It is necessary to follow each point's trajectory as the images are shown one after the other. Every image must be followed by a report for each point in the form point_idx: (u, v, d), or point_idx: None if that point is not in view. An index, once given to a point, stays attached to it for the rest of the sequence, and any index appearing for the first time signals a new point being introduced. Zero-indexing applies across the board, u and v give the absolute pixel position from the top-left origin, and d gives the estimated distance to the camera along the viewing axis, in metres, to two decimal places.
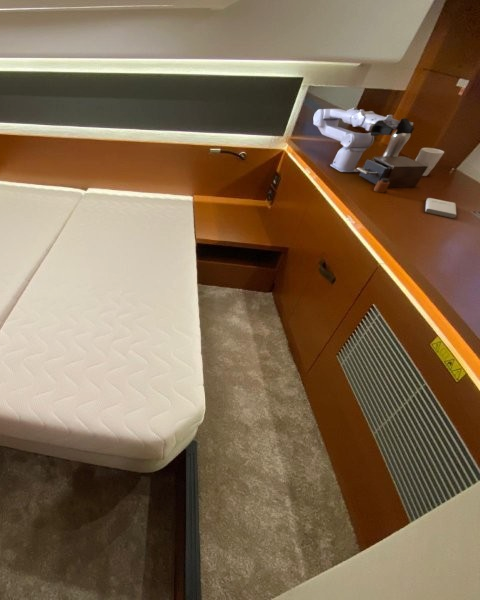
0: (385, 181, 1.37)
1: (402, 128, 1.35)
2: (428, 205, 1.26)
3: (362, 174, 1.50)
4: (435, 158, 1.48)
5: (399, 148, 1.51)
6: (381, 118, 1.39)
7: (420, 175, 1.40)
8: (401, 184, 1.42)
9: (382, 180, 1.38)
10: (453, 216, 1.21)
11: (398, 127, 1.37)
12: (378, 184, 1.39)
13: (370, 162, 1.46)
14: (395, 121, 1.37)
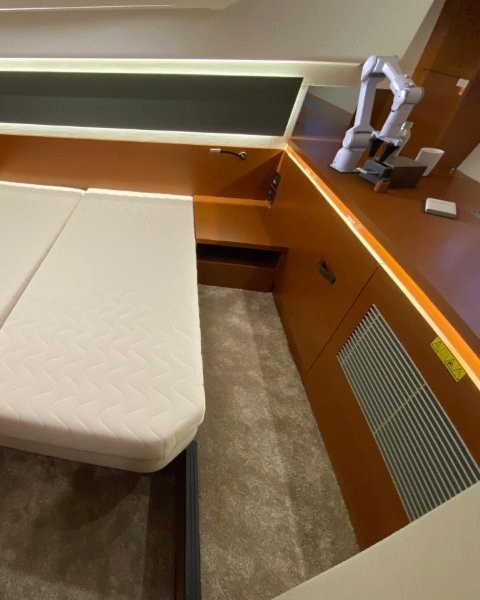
0: (385, 181, 1.37)
1: None
2: (428, 205, 1.26)
3: (362, 174, 1.50)
4: (435, 158, 1.48)
5: (399, 148, 1.51)
6: (381, 130, 1.36)
7: (420, 175, 1.40)
8: (401, 184, 1.42)
9: (382, 180, 1.38)
10: (453, 216, 1.21)
11: None
12: (378, 184, 1.39)
13: (370, 162, 1.46)
14: (387, 139, 1.34)
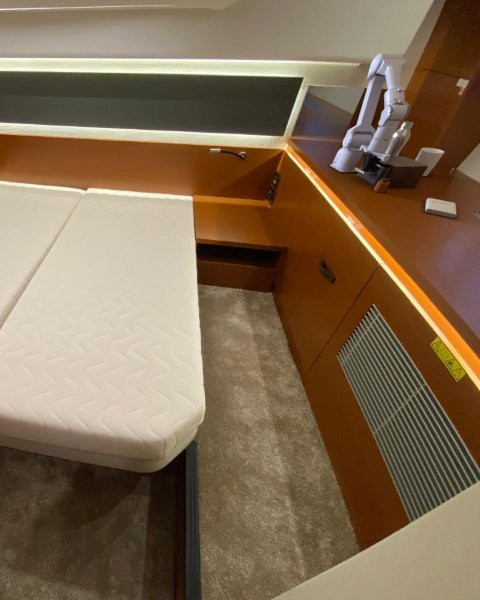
0: (385, 181, 1.37)
1: None
2: (428, 205, 1.26)
3: (360, 174, 1.50)
4: (435, 158, 1.48)
5: (399, 148, 1.51)
6: (369, 144, 1.39)
7: (420, 175, 1.40)
8: (401, 184, 1.42)
9: (382, 180, 1.38)
10: (453, 216, 1.21)
11: None
12: (378, 184, 1.39)
13: None
14: None
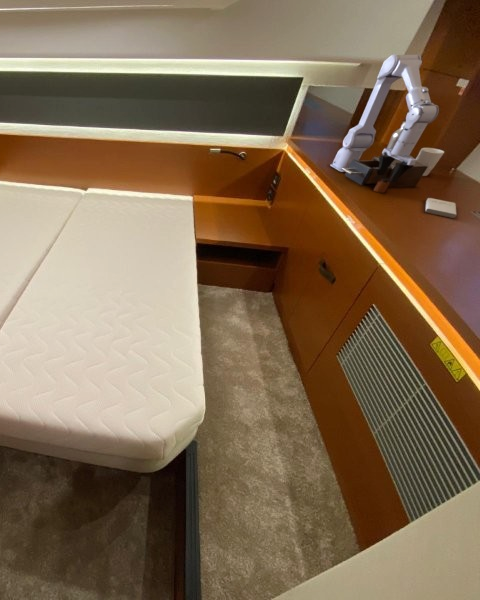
0: (385, 181, 1.37)
1: None
2: (428, 205, 1.26)
3: (347, 174, 1.50)
4: (435, 158, 1.48)
5: None
6: (393, 148, 1.31)
7: (420, 175, 1.40)
8: (401, 184, 1.42)
9: (382, 180, 1.38)
10: (453, 216, 1.21)
11: None
12: (378, 184, 1.39)
13: (355, 162, 1.46)
14: None
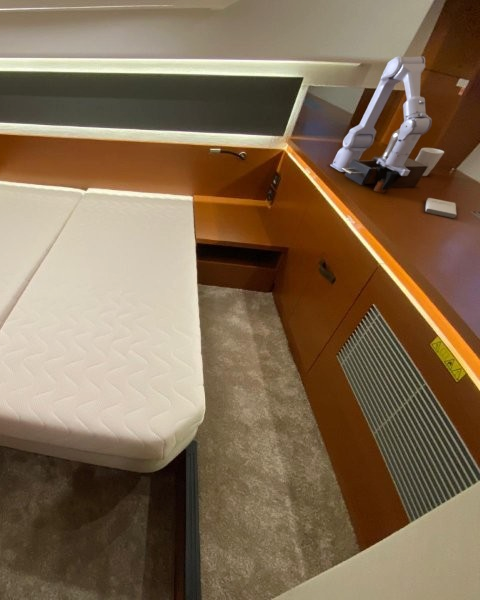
0: None
1: None
2: (428, 205, 1.26)
3: (347, 174, 1.50)
4: (435, 158, 1.48)
5: None
6: (387, 158, 1.34)
7: (420, 175, 1.40)
8: (401, 184, 1.42)
9: (382, 180, 1.38)
10: (453, 216, 1.21)
11: None
12: (378, 184, 1.39)
13: (355, 162, 1.46)
14: None
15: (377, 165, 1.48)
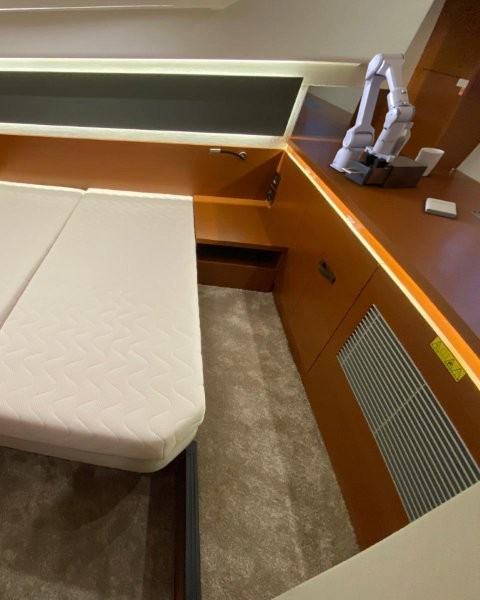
0: (372, 168, 1.43)
1: None
2: (428, 205, 1.26)
3: (347, 174, 1.50)
4: (435, 158, 1.48)
5: (399, 148, 1.51)
6: (374, 146, 1.40)
7: (420, 175, 1.40)
8: (401, 184, 1.42)
9: (370, 167, 1.44)
10: (453, 216, 1.21)
11: None
12: None
13: (355, 162, 1.46)
14: None
15: None
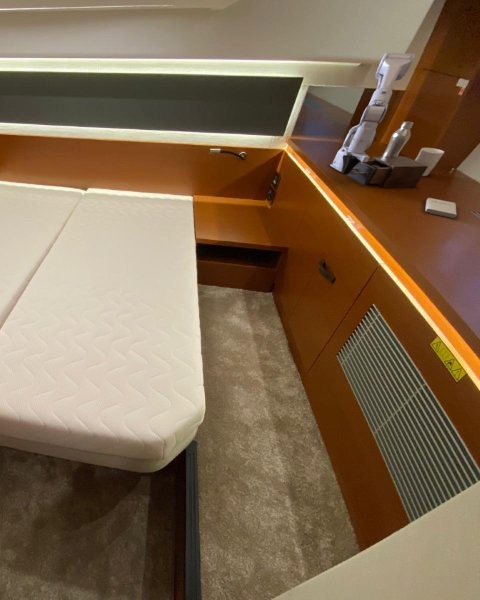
0: None
1: None
2: (428, 205, 1.26)
3: (350, 174, 1.50)
4: (435, 158, 1.48)
5: (399, 148, 1.51)
6: (349, 146, 1.40)
7: (420, 175, 1.40)
8: (401, 184, 1.42)
9: None
10: (453, 216, 1.21)
11: None
12: None
13: None
14: None
15: (380, 165, 1.48)
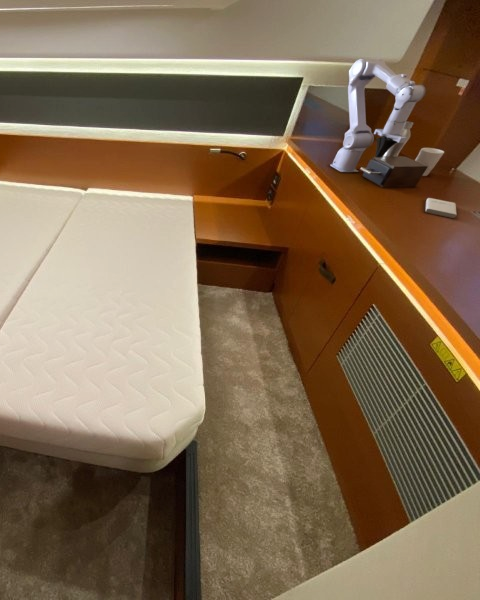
0: None
1: None
2: (428, 205, 1.26)
3: (365, 174, 1.50)
4: (435, 158, 1.48)
5: (399, 148, 1.51)
6: (384, 127, 1.39)
7: (420, 175, 1.40)
8: (401, 184, 1.42)
9: None
10: (453, 216, 1.21)
11: None
12: None
13: (374, 162, 1.46)
14: (390, 137, 1.37)
15: None
